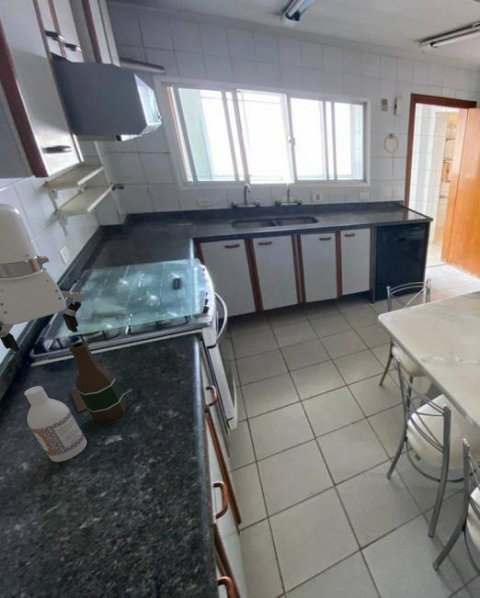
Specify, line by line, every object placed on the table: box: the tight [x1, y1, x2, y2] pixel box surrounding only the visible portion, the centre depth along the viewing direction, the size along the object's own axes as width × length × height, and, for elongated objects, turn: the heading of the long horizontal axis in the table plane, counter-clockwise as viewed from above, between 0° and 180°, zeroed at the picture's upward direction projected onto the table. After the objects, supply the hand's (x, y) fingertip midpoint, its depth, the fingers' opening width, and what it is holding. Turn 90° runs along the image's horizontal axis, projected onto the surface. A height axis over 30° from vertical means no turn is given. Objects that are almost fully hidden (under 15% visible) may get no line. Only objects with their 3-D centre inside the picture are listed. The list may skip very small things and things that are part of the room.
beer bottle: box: [68, 341, 128, 424], centre depth 90 cm, size 8×8×24 cm
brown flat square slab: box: [70, 375, 117, 413], centre depth 102 cm, size 12×12×1 cm
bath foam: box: [24, 385, 88, 463], centre depth 79 cm, size 7×7×20 cm
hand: (45, 339), depth 73 cm, fingers open, 9 cm apart
